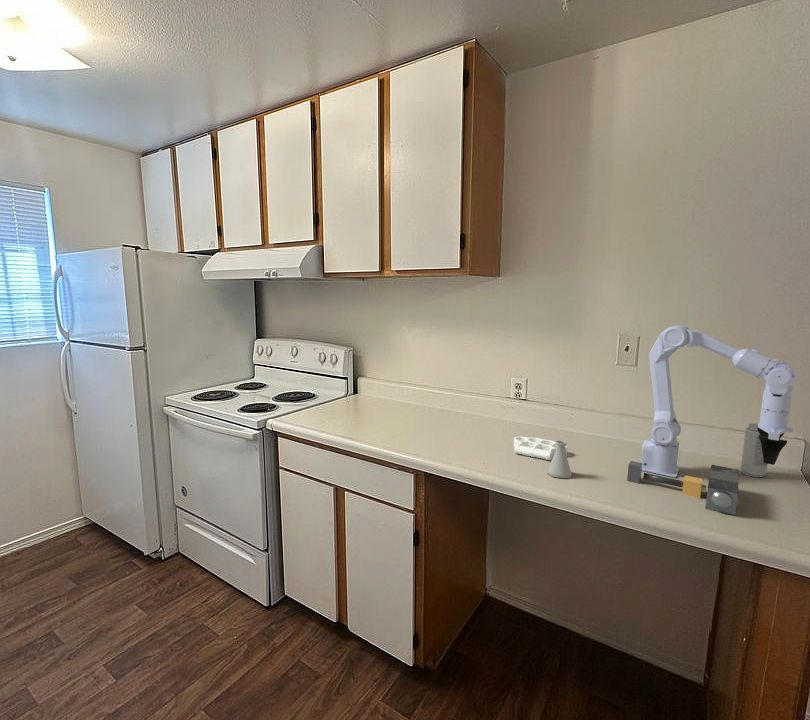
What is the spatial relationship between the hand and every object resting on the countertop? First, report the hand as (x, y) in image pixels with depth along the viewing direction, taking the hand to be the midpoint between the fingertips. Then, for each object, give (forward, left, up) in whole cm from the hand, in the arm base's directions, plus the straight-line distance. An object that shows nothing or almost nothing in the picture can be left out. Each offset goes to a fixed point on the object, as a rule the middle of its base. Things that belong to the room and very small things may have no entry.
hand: (768, 459), depth 117 cm
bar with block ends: (-22, -12, -10) cm, 26 cm away
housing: (-9, -12, -10) cm, 18 cm away
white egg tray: (-60, -6, -10) cm, 61 cm away
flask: (-48, -21, -10) cm, 53 cm away
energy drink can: (-2, +15, -10) cm, 19 cm away
